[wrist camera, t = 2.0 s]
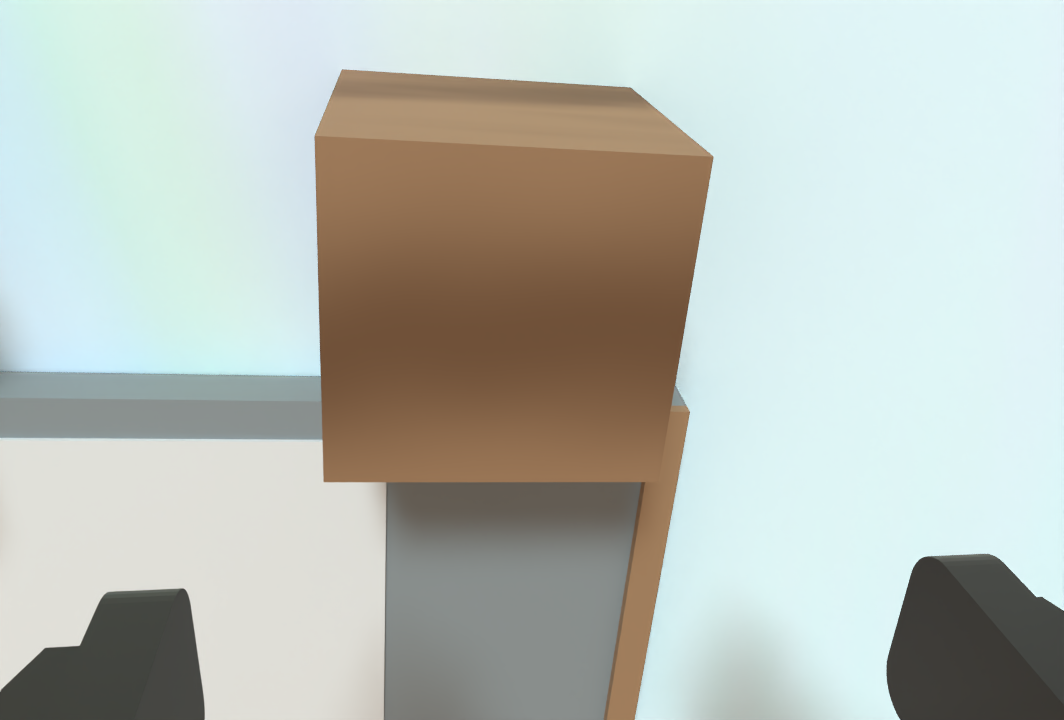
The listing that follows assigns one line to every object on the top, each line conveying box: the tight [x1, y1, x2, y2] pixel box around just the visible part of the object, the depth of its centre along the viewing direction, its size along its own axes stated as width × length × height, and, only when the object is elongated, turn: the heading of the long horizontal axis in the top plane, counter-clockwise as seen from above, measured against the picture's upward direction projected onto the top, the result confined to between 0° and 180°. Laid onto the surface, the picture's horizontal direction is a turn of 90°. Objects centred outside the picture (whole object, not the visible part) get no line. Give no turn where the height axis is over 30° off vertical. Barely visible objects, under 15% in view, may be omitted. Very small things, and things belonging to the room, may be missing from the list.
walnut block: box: [315, 70, 713, 482], centre depth 18 cm, size 6×6×6 cm
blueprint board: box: [0, 372, 690, 720], centre depth 23 cm, size 12×24×2 cm, turn 85°
